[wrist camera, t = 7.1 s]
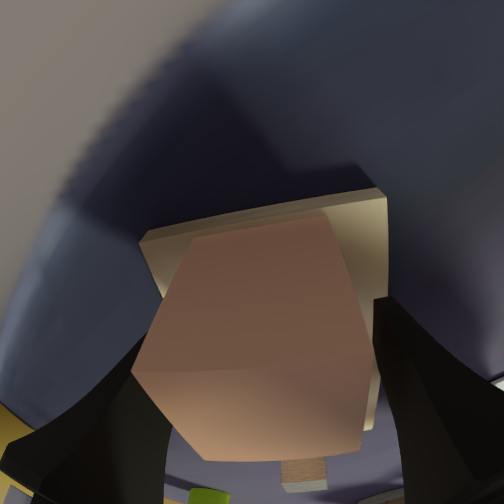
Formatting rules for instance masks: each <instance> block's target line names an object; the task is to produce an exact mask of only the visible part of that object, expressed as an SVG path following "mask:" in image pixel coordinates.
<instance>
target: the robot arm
mask: <svg viewBox="0 0 504 504" xmlns="http://www.w3.org/2000/svg"><path fill="white" fill-rule="evenodd" d="M147 333H148V332H147ZM147 333H146V334H145V335H144V336H143V337H142V338H141V339H140V340H139V341H138V342H137V343H136V344H135V345H134V346H133V348H132V349H131V350H130V351H129V352H128V353H127V354H126V355H125V356H124V357H123V358H122V359H121V361H120V362H119V363H118V364H117V365H116V366H115V367H114V368H113V369H112V370H111V371H110V372H109V373H108V374H107V375H106V376H105V377H104V378H103V379H102V380H101V381H100V382H99V383H98V384H97V385H96V386H95V387H94V388H93V389H92V390H91V391H90V392H89V393H88V394H87V395H86V396H84V397H83V398H82V399H81V400H80V401H78V402H77V403H76V404H75V405H74V406H72V407H71V408H70V409H68V410H67V411H66V412H64V413H63V414H61V415H60V416H59V417H57V418H56V419H54V420H53V421H51V422H50V423H48V424H46V425H45V426H43V427H41V428H40V429H38V430H36V431H34V432H32V433H31V434H28V435H26V436H24V437H22V438H20V439H17V440H15V441H13V442H10V443H9V444H8V445H7V447H6V449H5V452H4V453H3V456H2V458H1V460H0V470H1V471H2V472H3V473H5V474H6V475H8V476H9V477H10V478H12V479H13V480H15V481H16V482H18V483H20V484H21V485H23V486H24V487H26V488H27V489H29V490H30V491H32V492H34V495H33V497H31V496H29V495H27V494H26V493H24V492H23V491H21V490H19V489H18V488H16V487H14V486H13V485H10V487H9V490H8V492H7V495H6V498H5V500H4V503H3V504H163V501H164V476H165V465H166V457H167V449H168V443H169V439H170V435H171V431H172V427H173V425H172V424H171V423H170V421H169V420H168V419H167V418H166V417H165V415H164V414H163V413H162V412H161V410H160V409H159V408H158V407H157V406H156V404H155V403H154V402H153V400H152V399H151V398H150V397H149V395H148V394H147V393H146V391H145V390H144V389H143V387H142V386H141V385H140V383H139V382H138V381H137V379H136V378H135V377H134V375H133V374H132V372H131V370H132V367H133V365H134V363H135V360H136V358H137V356H138V353H139V351H140V349H141V347H142V344H143V342H144V340H145V338H146V335H147ZM372 344H373V348H374V353H375V358H376V362H377V367H378V370H379V374H380V377H381V380H382V383H383V386H384V389H385V392H386V395H387V398H388V402H389V405H390V408H391V411H392V415H393V418H394V421H395V425H396V430H397V435H398V441H399V448H400V454H401V463H402V472H403V483H404V498H405V504H504V377H502V378H499V379H497V380H495V381H492V382H488V381H487V380H485V379H484V378H482V377H481V376H479V375H478V374H476V373H475V372H474V371H472V370H471V369H470V368H468V367H467V366H466V365H464V364H463V363H462V362H460V361H459V360H458V359H457V358H455V357H454V356H453V355H452V354H451V353H450V352H448V351H447V350H446V349H445V348H444V347H443V346H442V345H440V344H439V343H438V342H437V341H436V340H435V339H434V338H433V337H432V336H431V335H430V334H429V333H428V332H427V331H426V330H425V329H423V328H422V327H421V326H420V325H419V324H418V323H417V322H416V321H415V320H414V319H413V317H412V316H411V315H410V314H409V313H408V312H407V311H406V310H405V309H404V308H403V307H402V306H401V305H400V304H399V303H398V302H397V301H396V300H395V299H394V298H393V297H392V296H387V297H382V298H376V299H373V334H372Z"/></svg>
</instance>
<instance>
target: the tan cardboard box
mask: <svg viewBox="0 0 504 504" xmlns="http://www.w3.org/2000/svg"><path fill="white" fill-rule="evenodd" d="M372 362H373V348H372V345H371V341H370V338H369V334H368V331H367V328H366V325H365V321H364V318H363V315H362V312H361V309H360V305H359V302H358V299H357V296H356V293H355V290H354V287H353V284H352V281H351V278H350V276H349V273H348V270H347V267H346V264H345V261H344V258H343V256H342V253H341V250H340V247H339V245H338V242H337V239H336V237H335V234H334V231H333V229H332V226H331V224H330V221H329V218H328V216H327V215H326V216H320V217H313V218H307V219H301V220H295V221H289V222H283V223H277V224H271V225H265V226H259V227H253V228H247V229H241V230H235V231H230V232H224V233H218V234H213V235H207V236H202V237H196V238H193V239H192V241H191V243H190V245H189V247H188V249H187V251H186V253H185V255H184V257H183V259H182V261H181V263H180V265H179V267H178V269H177V271H176V273H175V276H174V278H173V280H172V282H171V284H170V286H169V288H168V290H167V292H166V294H165V296H164V298H163V301H162V303H161V305H160V307H159V309H158V311H157V313H156V316H155V318H154V320H153V322H152V324H151V326H150V329H149V331H148V333H147V335H146V338H145V340H144V342H143V344H142V347H141V349H140V351H139V353H138V356H137V358H136V360H135V363H134V365H133V367H132V370H131V372H132V374H133V375H134V377H135V378H136V379H137V381H138V382H139V383H140V385H141V386H142V387H143V389H144V390H145V391H146V393H147V394H148V395H149V397H150V398H151V399H152V400H153V402H154V403H155V404H156V406H157V407H158V408H159V409H160V410H161V412H162V413H163V414H164V415H165V417H166V418H167V419H168V420H169V421H170V423H171V424H172V425H173V426H174V427H175V428H176V430H177V431H178V432H179V433H180V434H181V435H182V436H183V438H184V439H185V440H186V441H187V442H188V443H189V444H190V445H191V446H192V447H193V449H194V450H195V451H196V452H197V453H198V454H199V455H200V456H201V457H202V458H203V459H204V460H208V461H278V460H293V459H305V458H315V457H323V456H331V455H338V454H345V453H351V452H357V451H360V447H361V441H362V436H363V430H364V424H365V418H366V411H367V404H368V397H369V389H370V381H371V372H372Z"/></svg>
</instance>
